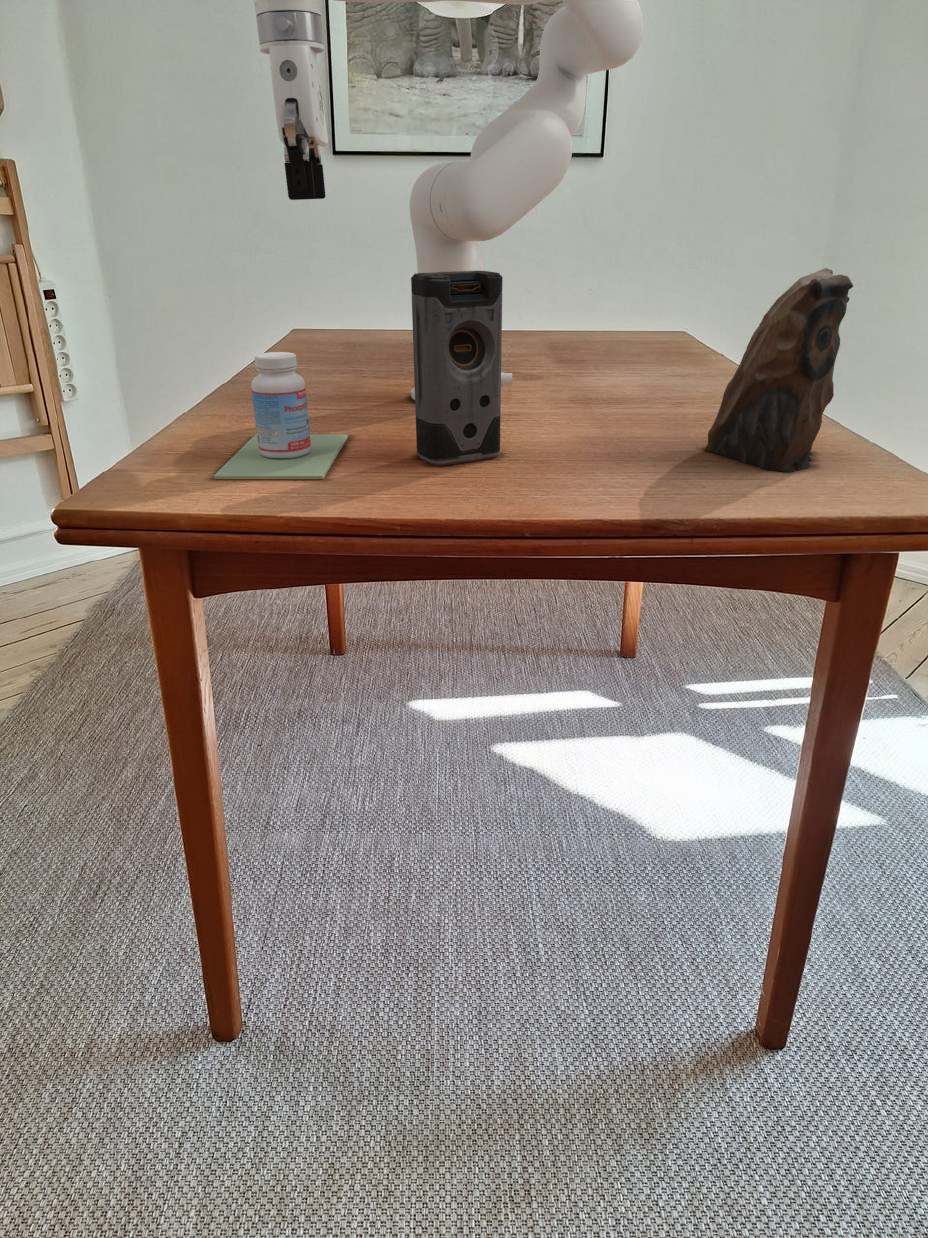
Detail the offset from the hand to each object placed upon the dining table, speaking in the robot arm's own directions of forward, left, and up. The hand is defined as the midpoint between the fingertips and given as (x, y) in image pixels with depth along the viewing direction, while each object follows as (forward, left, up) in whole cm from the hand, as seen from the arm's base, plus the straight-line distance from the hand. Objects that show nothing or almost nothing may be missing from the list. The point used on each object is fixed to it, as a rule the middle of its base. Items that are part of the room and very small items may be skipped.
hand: (308, 198), depth 104 cm
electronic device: (-20, +22, -28) cm, 41 cm away
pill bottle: (+1, +22, -27) cm, 35 cm away
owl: (-56, +21, -28) cm, 66 cm away
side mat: (+1, +22, -27) cm, 35 cm away
